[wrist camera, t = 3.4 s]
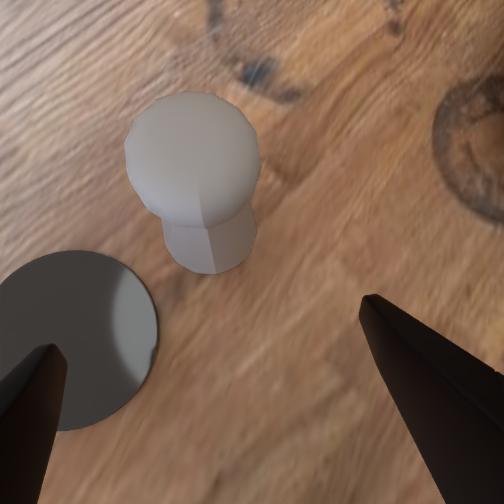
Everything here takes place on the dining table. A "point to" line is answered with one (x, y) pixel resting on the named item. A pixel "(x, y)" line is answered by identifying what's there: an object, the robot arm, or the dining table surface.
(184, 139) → the salt shaker
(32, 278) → the coaster
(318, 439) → the dining table surface
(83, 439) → the dining table surface
